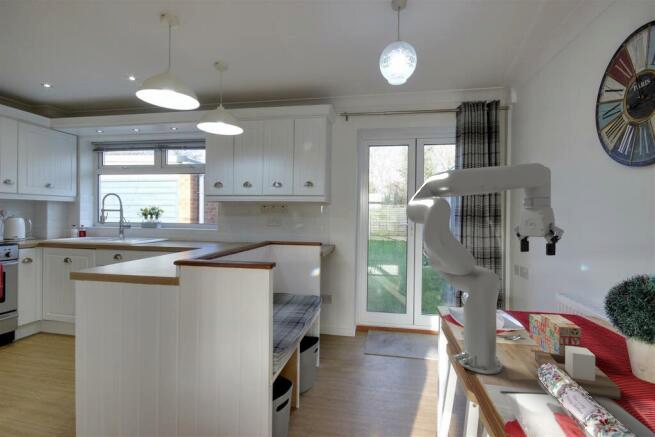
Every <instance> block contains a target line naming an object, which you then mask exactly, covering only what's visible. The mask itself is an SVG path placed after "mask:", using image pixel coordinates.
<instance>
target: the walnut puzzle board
mask: <svg viewBox="0 0 655 437" xmlns="http://www.w3.org/2000/svg"><path fill="white" fill-rule="evenodd" d="M534 361H535V362H536V363H537V365H538V366H539V367H540V366H541V365H543V364H548V363H550V364H554V365H556V366H557V367H558V368H559V369H561V370H563V371H564V372H565V373H566V374H567V375H568V376H569V377H570V378H571V379H572V380H573V381H575V382H576V383H577V384H578V385H579V386H581V387H582V388H583V389H584V390H585V391H587V392H588V393H589V394H590V395H589V396H594V397H599V398H600V397H601V398H607V399H614V400H621V388H620V387H619V386H618V384H616V383H615V382H614V381H613V380H612V379H611V378H610V377H608V375H606V374H605V373H604V372H603V371H602V370H601V369H600V368H599V367H598V366H597V365H595V381H590V380H583V379H576V378H572V377H571V375H570V374H569V373H568V372H567V371H566V370H565V355H564V354H556V353H548V352H546V351H540V350H534Z"/></svg>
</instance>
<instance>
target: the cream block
mask: <svg viewBox="0 0 655 437" xmlns="http://www.w3.org/2000/svg"><path fill="white" fill-rule="evenodd" d="M595 366H596V355H595V354H594V353H593V352H591V351H590V350H589V349H588V348H587V347H581V346H580V347H573V346H565V370H566V371H567V372H568V373H569V374H570V375H571V377H572V378H576V379H583V380H590V381H595Z"/></svg>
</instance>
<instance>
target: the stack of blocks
mask: <svg viewBox="0 0 655 437" xmlns="http://www.w3.org/2000/svg"><path fill="white" fill-rule="evenodd" d="M528 322H529V337H530V339H532V340H533V341H534V342H535V343H536V344H537V345H538V346H539V347H541V348H542V349H543V350H544V352H548V353H556V354H564V355H565V346H573V347H581V342H582V341H581V340H582V339H581V335H582V328H581V327H580V326H578V325H576V324H575V323H574V322H573V321H571V320H569V319H567V318H566V317H563V316H561V315H559V314H544V313H543V314H542V313H540V314H531V313H530V314H528Z"/></svg>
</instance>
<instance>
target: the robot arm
mask: <svg viewBox="0 0 655 437" xmlns="http://www.w3.org/2000/svg"><path fill="white" fill-rule="evenodd" d="M521 189H523V201H522V205H523V207H522V208H521V211H520V216H519V225H518V226H516V227H515V228H514V232H515V235H516V237H517V239H518V241H520V242H519V243H520V245H519V249H520V250H519V251H520V253H526V252H527V253H528V252H530V241H529V238H530V237H531V238H532V237H533V238H544V239H545V240H546V243H545V255H546V256H556V244H558V242H559V241H560V240H561V239H562V236H563V234H564V233H565V232H564V231H565V230H564V229H562V228H561V227H558V226H557V225H556V221H555V213H554V209H553V207H552V201H551V200H552V194H551V193H552V171H551V169H550V168H549V167H547V166H545V165H544V164H542V163H539V162H533V163H531V162H529V163H520V164H510V165H497V166H496V165H495V166H494V165H493V166H485V167H484V166H482V167H473V168H471V167H470V168H459V169H458V168H457V169H450V170H446V171H445V170H444V171H441V172H437V173H434V174H432V175H431V176H430V177H428V178H427V180H426V181H425V182H423V184H422V186H420V188H419V189H418V190H417V191H416V192H415V194H414V195H413V196H412V197H411V199H410V200H408V201H409V202H408V203H407V205H406V208H405V213H406V216H407V218H408V219H409V221H411V222H412V223H415V224H421V225H422V224H423V242H424V244H425V247H427V249H428V254H427V256H428V262H429V265H430V266H431V268H432V269H433V270H434V271H435V272H436V273H437V274H438V275H439V276H440V277H441V278H442V279H443V280H444V281H445V282H446V283H448V285H450V286H451V287H452V288H453V289H456V290H458V291H461V292H463V293H466V294H468V295H467V298H466V300H465V302H464V304H463V312H462V313H463V348H460V352H458V354H457V353H456V354H451V360H452V362H459V364H460V365H461V366H462V367H463V368H465V369H467V370H469V371H471V372H475V373H478V374H483V375H484V374H485V375H493V374H498V373H501V372H502V370H503V365H502V364H503V363H501V361H499V360H498V359H497V303H498V299H499V294H500V289H501V280H500V278H499V276H498V275H497V273H495V272H494V271H493V270H491V269H489V268H486V267H483V266H480V265H479V266H477V265H476V259H475V257H474V255H473V254H472V252H470V250H469V249H467V247H466V246H464V245H463V244H462V243H461V241H459V239H458V238H457V237H456V236H455V235H454V234H453V232H452V231H451V227H450V225H451V224H450V222H451V216H452V207H451V205H450V203H449V201H448V200H447V199H446V198H454V197H455V198H456V197H463V196H464V197H465V196H474V195H475V196H476V195H485V194H494V193H500V192H503V191H509V190H510V191H511V190H521Z"/></svg>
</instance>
